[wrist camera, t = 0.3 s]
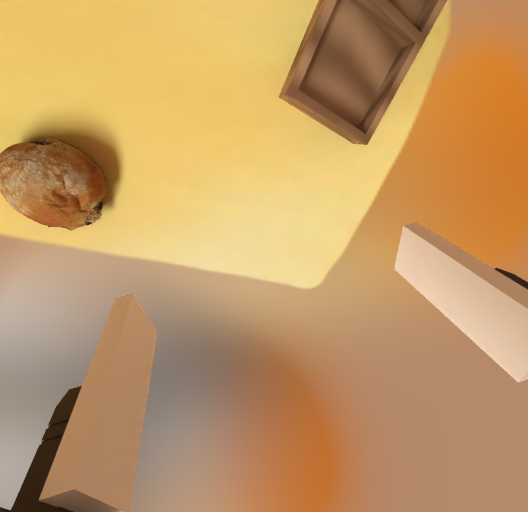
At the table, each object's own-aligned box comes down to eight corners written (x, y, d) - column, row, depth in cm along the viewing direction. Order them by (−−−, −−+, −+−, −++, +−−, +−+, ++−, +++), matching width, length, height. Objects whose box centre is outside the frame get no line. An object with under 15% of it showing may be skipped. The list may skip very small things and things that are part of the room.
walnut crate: (353, 143, 37) (367, 144, 34) (278, 97, 32) (287, 93, 29) (466, -68, 29) (497, -91, 26) (390, -173, 24) (418, -215, 21)
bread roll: (103, 146, 33) (65, 114, 25) (125, 221, 34) (94, 213, 26) (22, 161, 32) (-45, 133, 24) (46, 239, 33) (-11, 236, 25)
